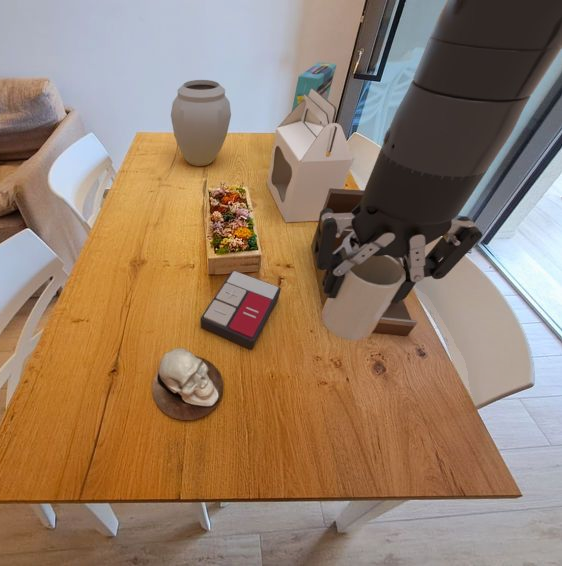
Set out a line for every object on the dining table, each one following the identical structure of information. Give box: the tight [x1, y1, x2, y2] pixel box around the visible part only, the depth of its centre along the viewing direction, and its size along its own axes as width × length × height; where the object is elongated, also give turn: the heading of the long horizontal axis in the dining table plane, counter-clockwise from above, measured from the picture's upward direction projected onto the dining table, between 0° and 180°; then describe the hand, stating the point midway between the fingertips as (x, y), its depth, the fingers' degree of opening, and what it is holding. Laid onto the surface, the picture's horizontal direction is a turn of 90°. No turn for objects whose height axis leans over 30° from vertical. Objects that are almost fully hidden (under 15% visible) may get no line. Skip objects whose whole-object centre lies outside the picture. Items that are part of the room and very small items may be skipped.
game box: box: [291, 61, 337, 125], centre depth 111 cm, size 20×6×27 cm, turn 148°
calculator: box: [200, 270, 282, 351], centre depth 67 cm, size 11×4×15 cm
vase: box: [170, 79, 232, 167], centre depth 110 cm, size 20×20×24 cm
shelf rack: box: [310, 188, 418, 337], centre depth 68 cm, size 26×15×16 cm, turn 171°
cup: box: [320, 255, 406, 342], centre depth 38 cm, size 6×6×9 cm
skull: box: [151, 347, 224, 421], centre depth 55 cm, size 12×10×10 cm
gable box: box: [266, 89, 355, 223], centre depth 89 cm, size 22×13×28 cm, turn 4°
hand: (360, 295), depth 38 cm, fingers closed on cup, 6 cm apart
